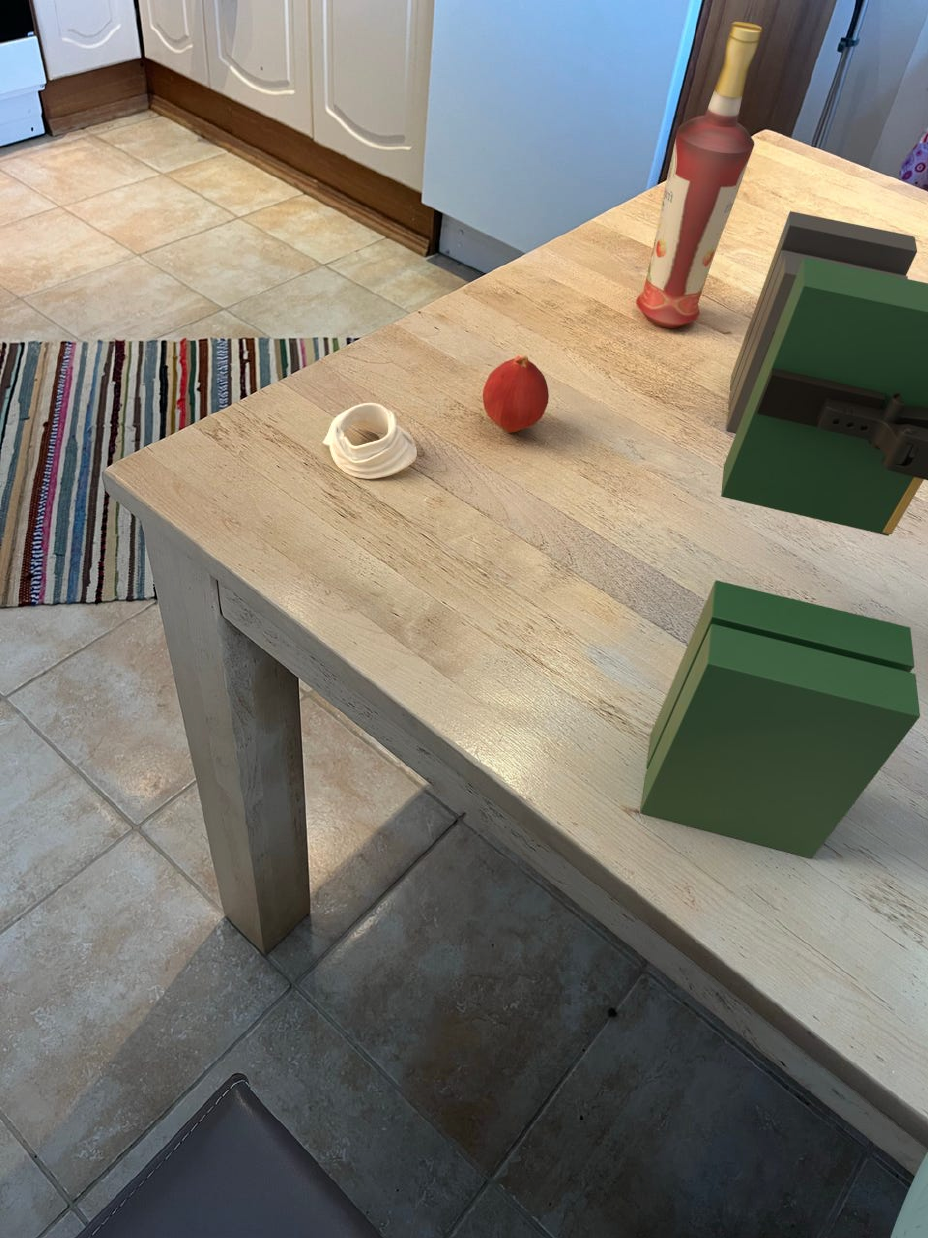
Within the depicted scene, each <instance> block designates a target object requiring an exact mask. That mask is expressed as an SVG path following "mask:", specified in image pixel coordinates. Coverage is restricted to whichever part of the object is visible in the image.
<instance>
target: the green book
mask: <svg viewBox="0 0 928 1238" xmlns="http://www.w3.org/2000/svg"><path fill="white" fill-rule="evenodd" d="M772 368H774V369H779V370H783V371H788V372H793V373H797V374H802V375H806V376H811V377H815V378H820V379H824V380H829V381H833V382H838V383H842V384H847V385H852V386H856V387H861V388H865V389H870V390H874V391H879V392H883V393H885V401H884V403H883V405H882V407H881V409H882V410H885V408H886V406H887V404H888V402H889V400H890V398H891V396H892V394H894V393H900V395H899V396H901V397H902V399H903V401H904V402H903V404H905V405H907V406H915V407H923V408H928V282H923V281H919V280H914V279H909V278H908V279H905V278H900V277H896V276H891V275H886V274H881V273H877V272H872V271H867V270H862V269H857V268H853V267H848V266H843V265H838V264H834V263H829V262H824V261H819V260H815V259H810V258H805V257H804V258H803V261H802V263H801V266H800V268H799V271H798V274H797V276H796V279H795V281H794V284H793V287H792V289H791V292H790V294H789V297H788V300H787V302H786V305H785V307H784V310H783V313H782V315H781V318H780V320H779V323H778V326H777V328H776V331H775V334H774V336H773V339H772V341H771V344H770V347H769V349H768V352H767V354H766V357H765V360H764V362H763V365H762V367H761V370H760V373H759V375H758V378H757V380H756V383H755V386H754V388H753V391H752V393H751V396H750V399H749V401H748V404H747V407H746V409H745V412H744V414H743V417H742V420H741V422H740V425H739V427H738V430H737V433H735V435H734V438H733V441H732V443H731V445H730V449H729V451H728V454H727V456H726V459H725V461H724V464H723V469H722V470H723V471H722V482H721V491H720V497H721V498H725V499H729V500H733V501H738V502H742V503H746V504H751V505H755V506H759V507H763V508H768V509H771V510H775V511H779V512H785V513H789V514H793V515H797V516H802V517H806V518H810V519H814V520H818V521H823V522H827V523H831V524H836V525H840V526H845V527H848V528H852V529H855V530H862V531H866V532H869V533H874V534H879V535H882V536H887V537H889V536H890V535H893V533H894V531H895V530H896V528H897V526H898V524H899V523H900V521H901V519H902V518H903V516H904V514H905V513H906V511H907V509H908V508H909V506H910V504H911V502H912V501H913V499H914V497H915V495H916V494H917V492H918V491H919V489H920V488H921V486H922V484H923V482H924V481H925V480H924V479H920V478H916V477H913V476H909V475H905V474H901V473H897V472H894V471H890V470H888V469H886V468H885V467H884V466H883V465H882V463H881V462H882V459H883V457H884V454H883V453H882V451H881V450H877V449H875V448H873V447H872V446H870V444H869V440H866V439H861V438H857V437H852V436H848V435H844V434H839V433H837V432H835V433H834V432H830V431H826V430H823V429H821V428H818V427H814V426H809V425H805V424H800V423H796V422H792V421H787V420H783V419H778V418H774V417H769V416H765V415H760V414H757V405H758V403H759V400H760V398H761V395H762V393H763V390H764V388H765V385H766V382H767V380H768V377H769V375H770V372H771V370H772ZM914 456H915V455H914V454H910V457H914Z"/></svg>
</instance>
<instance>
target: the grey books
mask: <svg viewBox="0 0 928 1238" xmlns="http://www.w3.org/2000/svg"><path fill="white" fill-rule="evenodd" d="M917 254H918V247H917V242H916V237H915V236H914V235H910V234H904V233H901V232H900V233H899V232H895V231H890V230H885V229H880V228H874V227H870V226H866V225H860V224H856V223H850V222H845V221H841V220H836V219H831V218H826V217H821V216H817V215H811V214H807V213H801V212H798V211H797V212H796V211H792V210H790V211H789V212H788V215H787V218H786V221H785V223H784V226H783V229H782V232H781V235H780V238H779V241H778V243H777V246H776V249H775V252H774V254H773V257H772V259H771V263H770V266H769V268H768V271H767V274H766V277H765V280H764V282H763V284H762V287H761V291H760V293H759V297H758V299H757V301H756V304H755V308H754V311H753V312H752V316H751V318H750V320H749V325H748V326H747V330H746V333H745V336H744V339H743V341H742V344H741V347H740V349H739V352H738V354H737V358H736V361H735V363H734V366H733V369H732V371H731V375H730V384H729V385H730V386H729V395H728V406H727V410H728V411H727V415H726V416H727V417H726V427H725V431H727V432H730V433H735V434H736V433H737V430H738V427H739V425H740V422H741V420H742V417H743V414H744V412H745V409H746V407H747V404H748V401H749V399H750V396H751V393H752V391H753V388H754V386H755V383H756V380H757V378H758V375H759V369H760V366H761V364H762V361H763V358H764V356H765V353H766V350H767V348H768V345H769V343H770V340H771V337H772V335H773V332H775V331H776V328H777V326H778V323H779V320H780V318H781V315H782V313H783V310H784V307H785V305H786V302H787V300H788V297H789V294H790V292H791V289H792V287H793V284H794V281H795V279H796V276H797V274H798V271H799V268H800V266H801V263H802V261H803V258H804V257H805V258H810V259H815V260H819V261H824V262H829V263H834V264H838V265H843V266H848V267H853V268H857V269H862V270H867V271H872V272H877V273H881V274H886V275H891V276H896V277H900V278H905V279H909V277H908V272H909V270H910V269H911V266H912V264H913V262H914V260H915V258H916V255H917Z"/></svg>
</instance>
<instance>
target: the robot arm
mask: <svg viewBox="0 0 928 1238" xmlns="http://www.w3.org/2000/svg"><path fill="white" fill-rule="evenodd" d="M774 334H775V332H773V335H772V337H771V340H770V343H769V345H768V348H767V350H766V353H765V356H764V358H763V361H762V364H761V366H760V369H759V373H760V370H761V367H762V365H763V362H764V360H765V357H766V354H767V352H768V349H769V347H770V344H771V341H772V339H773V336H774ZM899 395H900V393H894V394H892V396H891V398H890V400H889V402H888V404H887V406H886V408H885V410H882V409H881V407H882V405H883V403H884V401H885V393H883V392H879V391H874V390H870V389H865V388H861V387H856V386H852V385H847V384H842V383H838V382H833V381H829V380H824V379H820V378H815V377H811V376H806V375H802V374H797V373H793V372H788V371H783V370H779V369H774V368H772V370H771V372H770V375H769V377H768V380H767V382H766V385H765V388H764V390H763V393H762V395H761V398H760V400H759V403H758V405H757V414H760V415H765V416H769V417H774V418H778V419H783V420H787V421H792V422H796V423H800V424H805V425H809V426H814V427H818V428H821V429H823V430H826V431H830V432H834V433H835V432H837V433H839V434H844V435H848V436H852V437H857V438H861V439H866V440H869V444H870V446H872V447H873V448H875V449H877V450H881V451H882V453H883V454H884V457H883V459H882V462H881V463H882V465H883V466H884V467H885V468H886V469H888V470H890V471H894V472H897V473H901V474H905V475H909V476H913V477H916V478H920V479H924V480H923V481H928V408H923V407H915V406H907V405H905V404H903V402H904V401H903V399H902V397H901V396H899ZM910 454H914V455H915V456H914V457H910ZM890 1238H928V1151H927V1152H926V1153H925V1156H924V1158H923V1159H922V1162H921V1163H920V1165H919V1167H918V1169H917V1171H916V1174H915V1176H914V1177H913V1180H912V1183H911V1184H910V1187H909V1189H908V1190H907V1194H906V1195H905V1199H904V1200H903V1203H902V1206H901V1208H900V1211H899V1213H898V1216H897V1219H896V1221H895V1225H894V1227H893V1229H892V1232H891V1235H890Z"/></svg>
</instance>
